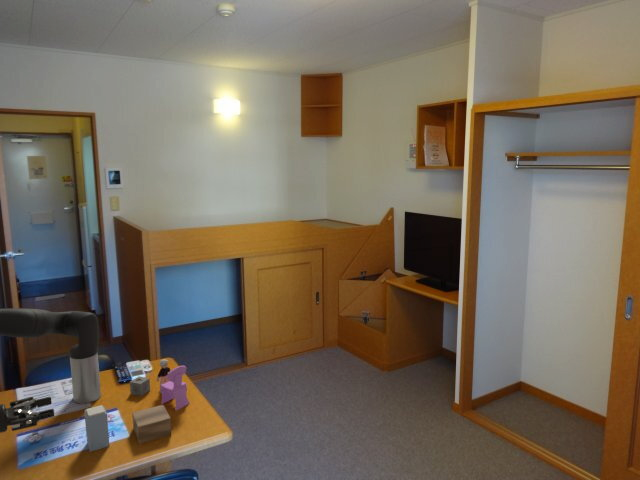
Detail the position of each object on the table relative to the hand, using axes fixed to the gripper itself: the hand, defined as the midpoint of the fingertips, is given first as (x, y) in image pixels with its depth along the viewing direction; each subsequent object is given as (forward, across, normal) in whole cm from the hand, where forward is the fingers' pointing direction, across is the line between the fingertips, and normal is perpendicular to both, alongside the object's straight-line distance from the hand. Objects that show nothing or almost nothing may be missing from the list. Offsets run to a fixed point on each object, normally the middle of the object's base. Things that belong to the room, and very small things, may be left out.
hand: (52, 406), depth 141 cm
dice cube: (+31, +28, +16) cm, 45 cm away
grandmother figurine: (+40, +24, +16) cm, 49 cm away
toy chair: (+40, +12, +16) cm, 44 cm away
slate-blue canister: (+12, 0, +16) cm, 20 cm away
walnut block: (+28, -2, +16) cm, 32 cm away
